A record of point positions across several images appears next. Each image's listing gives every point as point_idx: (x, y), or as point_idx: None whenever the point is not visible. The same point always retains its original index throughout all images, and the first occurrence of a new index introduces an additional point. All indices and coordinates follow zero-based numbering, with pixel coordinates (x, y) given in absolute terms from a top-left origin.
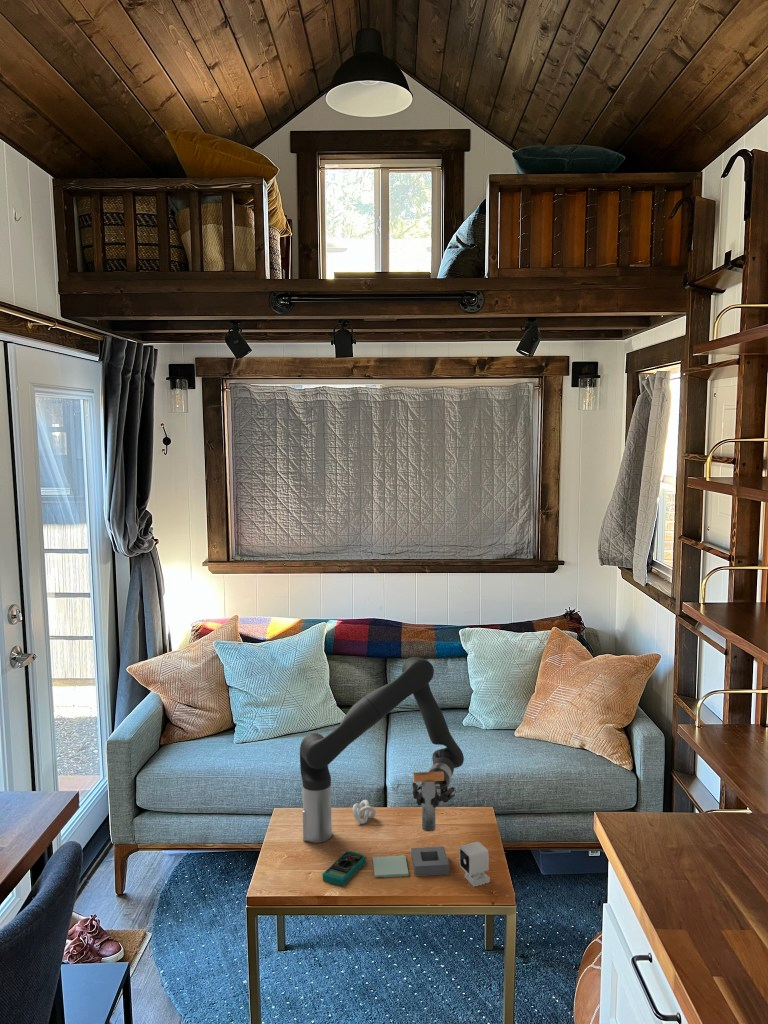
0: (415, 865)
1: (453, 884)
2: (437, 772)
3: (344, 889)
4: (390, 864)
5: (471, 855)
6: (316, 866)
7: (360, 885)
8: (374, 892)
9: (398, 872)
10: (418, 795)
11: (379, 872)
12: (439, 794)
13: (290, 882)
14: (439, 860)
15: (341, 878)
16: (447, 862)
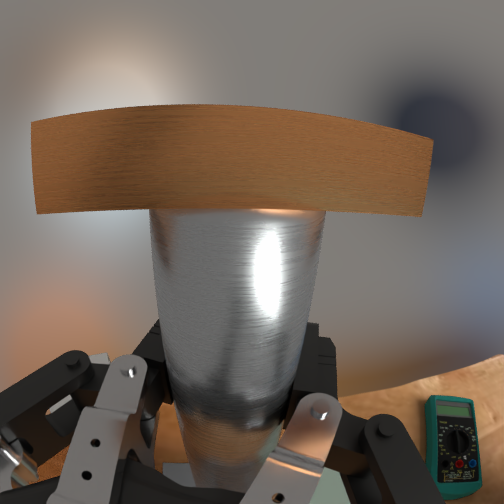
0: None
1: (165, 433)
2: (113, 111)
3: (417, 396)
4: None
5: (102, 353)
6: (498, 439)
7: (396, 414)
8: (359, 399)
9: None
10: (332, 387)
11: None
12: (124, 361)
13: (497, 387)
14: (192, 485)
15: (436, 395)
16: (167, 473)
